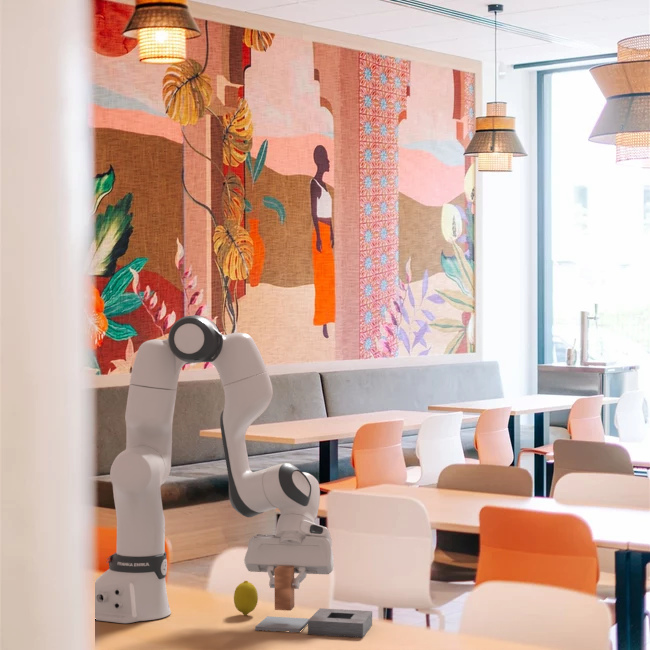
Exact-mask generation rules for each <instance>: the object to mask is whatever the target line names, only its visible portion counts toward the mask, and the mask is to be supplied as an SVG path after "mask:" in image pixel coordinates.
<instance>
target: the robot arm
mask: <svg viewBox="0 0 650 650" xmlns="http://www.w3.org/2000/svg"><path fill="white" fill-rule="evenodd" d="M200 363H210V364H212V366H214V368H215V369H216V371H217V373H218V375H219V378H220V382H221V386H222V389H223V392H224V407H223V410H222V411H221V413H220V417H219V423H220V424H219V425H220V432H221V434H220V435H221V440H222V445H223V452H224V457H225V459H224V460H225V464H226V471H227V476H228V478H227V479H228V499H229V503H230V505H231V506H232V508H233V509H234V510H235V511H236V512H237V513H238V514H240V515H242V516H243V517H246V518H252V517H256V516H258V515H262V514H263V513H265V512H269V511H273V510H276V509H278V510H279V511H280V515H279V517H278V519H277V522H276V523H277V524H276V529H275V533H274V534H259V533H258V534H256V535H254V536H252V537H250V539H249V541H248V545H247V550H246V553H245V556H244V559H243V561H244V566H245V568H246V570H247V571H248V572H250V573H251V572H253V573H267V574H268V578H269V584H268V585H269V588H270V589H275V571H274V569H275V568H276V567H278V566H294V574H298V575H297V576H296V577H294V578H292V582H291V587H292V589H294V590H299V589H300V585H301V583H302V582H303V581H304V580H305V578H306V577H307V574H308V575H330V574H331V573H332V572H333V570H334V561H335V559H334V558H335V557H334V556H335V555H334V552H333V539H332V536H331V533H330V530H329V529H328V527H326V526H323V525H320V524H317V523H315V520H316V518H317V516H318V513H319V509H320V508H319V507H320V500H321V491H320V490H321V489H320V483H319V481H318V479H317V478H316V477H315V476H314V475H313V474H311V473H309V472H305V471H302V470H300V469H299V468H298V467H297V466H295V465H294V464H292V463H289V462H283V463H279V464H275V465H272V466H268V467H267V468H263V469H260V470H256V471H252V470H251V468H250V462H249V456H248V451H247V445H246V434H247V431H248V428H249V427H250V426H251V425H252V424H253V422H254V421H255V420H257V419H258V418H259V417H261V415H262V414H263V413H264V412H265V411H267V409H268V407H269V406H270V403H271V401H272V399H273V395H274V392H273V383H272V380H271V378H270V375H269V372H268V368H267V366H266V363H265V361H264V358H263V356H262V354H261V351H260V350H259V347H258V346H257V344H256V342H255V339H254V338H253V337H252V336H251V335H250V334H248V333H245V332H232V333H229V334H223V333H221V330H220V329H219V327H218V325H217V324H216V323H215V322H213V321H212V320H211V319H209V318H208V317H206V316H203V315H196V314H195V315H187V316H183V317H181V318H179V319H177V320H176V321H175V322H174V323H173V325H172V326H171V327H170V330H169V333H168V337H167V338H165V339H157V338H156V339H154V338H153V339H149V340H146V341H144V342H142V343H141V344H140V345H139V347H138V350H137V352H136V355H135V358H134V362H133V365H132V370H131V372H130V373H131V374H130V379H129V386H128V393H127V400H126V407H125V408H126V409H125V414H124V418H125V419H124V420H125V426H126V431H125V432H126V439H125V440H126V443H125V445H126V446H125V449H124V450H123V451H121V452H120V453H118V454H117V456H115V458H114V460H113V462H112V464H111V467H110V471H109V477H110V482H111V485H112V492H113V500H114V501H113V502H114V507H115V515H116V551H115V552H114V553H113V554H110V555H109V557H107V558H106V559H105V560H106V562H105V563H106V564H108V569H107V570H105V571H104V572H103V573H102V574H101V575H99V576H98V577H97V578H96V579H95V580H96V582H95V618H96V620H95V621H100V622H101V621H102V622H111V623H117V624H118V623H119V624H131V623H135V622H136V623H137V622H143V621H144V622H145V621H152V620H158V619H162V618H166V617H168V616H169V615H171V613H172V610H171V607H170V604H169V599H168V593H167V584H166V583H167V582H166V577H167V569H168V560H167V552H166V549H165V543H166V540H165V539H166V536H165V535H166V518H165V513H164V508H163V501H162V493H161V491H162V488H161V486H162V485H164V484H165V482H167V480H168V479H169V476H170V474H171V473H170V472H171V469H172V455H173V454H172V453H173V452H172V450H173V449H172V448H173V421H174V415H175V405H176V399H177V391H178V382H179V377H180V373H181V370H182V368H183V367H184V366H185V365H190V364H200Z"/></svg>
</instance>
